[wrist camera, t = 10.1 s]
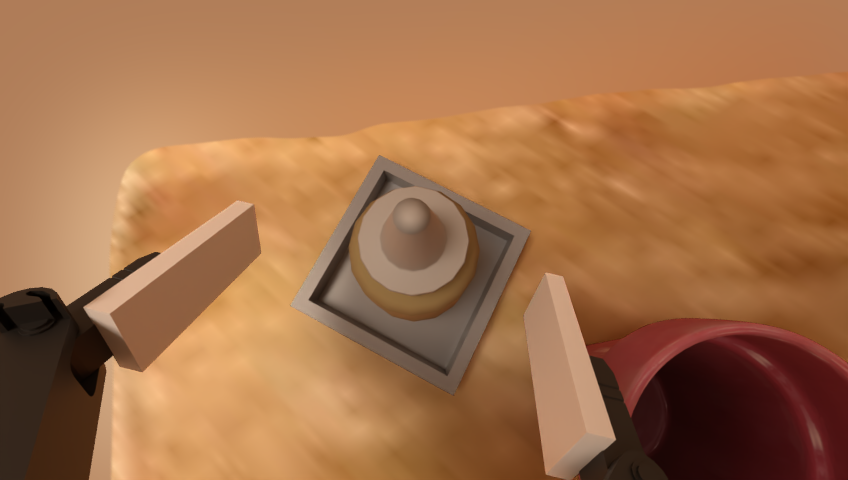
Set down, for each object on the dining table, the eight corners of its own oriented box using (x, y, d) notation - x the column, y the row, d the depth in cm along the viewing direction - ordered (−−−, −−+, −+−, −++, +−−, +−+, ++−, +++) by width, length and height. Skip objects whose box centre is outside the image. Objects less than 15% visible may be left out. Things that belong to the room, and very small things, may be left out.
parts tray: (519, 237, 29) (530, 230, 26) (449, 385, 26) (453, 395, 23) (383, 169, 30) (379, 154, 27) (303, 305, 27) (290, 305, 24)
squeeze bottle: (482, 272, 27) (601, 222, 10) (413, 339, 26) (403, 423, 9) (418, 205, 28) (418, 49, 11) (348, 267, 27) (220, 209, 10)
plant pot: (637, 285, 28) (813, 273, 16) (725, 446, 26) (1014, 583, 13) (491, 353, 27) (555, 400, 14) (570, 528, 25) (729, 766, 12)
